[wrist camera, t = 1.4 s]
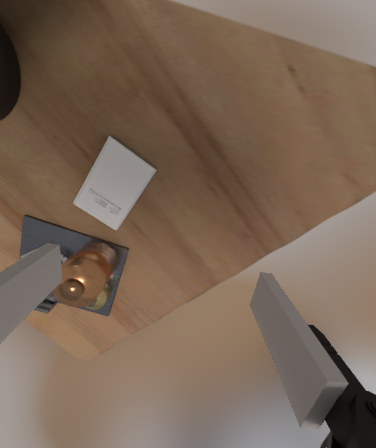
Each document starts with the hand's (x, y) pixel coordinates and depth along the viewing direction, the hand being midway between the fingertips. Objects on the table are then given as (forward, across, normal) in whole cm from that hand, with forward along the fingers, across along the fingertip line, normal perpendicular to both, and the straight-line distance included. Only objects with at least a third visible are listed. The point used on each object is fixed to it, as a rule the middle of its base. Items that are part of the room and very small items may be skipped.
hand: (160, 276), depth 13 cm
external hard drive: (+21, -10, +1) cm, 24 cm away
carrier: (+21, -18, -16) cm, 31 cm away
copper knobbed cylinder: (+20, -12, -12) cm, 27 cm away
